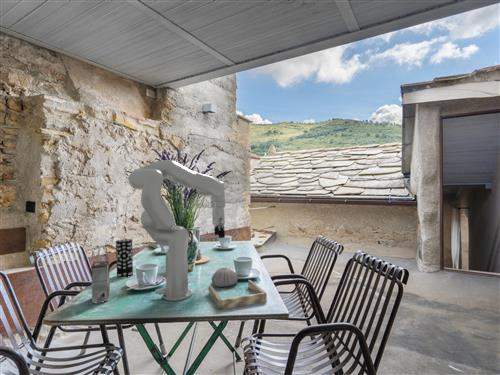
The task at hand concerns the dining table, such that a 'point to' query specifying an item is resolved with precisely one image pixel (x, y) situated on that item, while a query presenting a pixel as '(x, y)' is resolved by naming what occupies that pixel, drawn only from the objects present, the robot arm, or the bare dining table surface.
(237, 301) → the box
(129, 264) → the white-spotted black cylinder
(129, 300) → the dining table surface
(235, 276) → the sea urchin shell
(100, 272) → the coffee box
